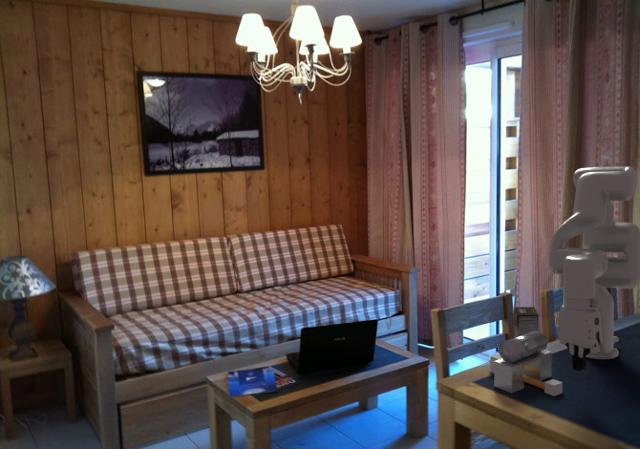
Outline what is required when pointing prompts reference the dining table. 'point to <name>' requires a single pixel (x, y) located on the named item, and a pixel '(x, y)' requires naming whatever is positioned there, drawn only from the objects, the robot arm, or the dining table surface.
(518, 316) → the coffee box
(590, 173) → the robot arm
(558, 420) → the dining table surface
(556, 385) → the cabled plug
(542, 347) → the cylinder
